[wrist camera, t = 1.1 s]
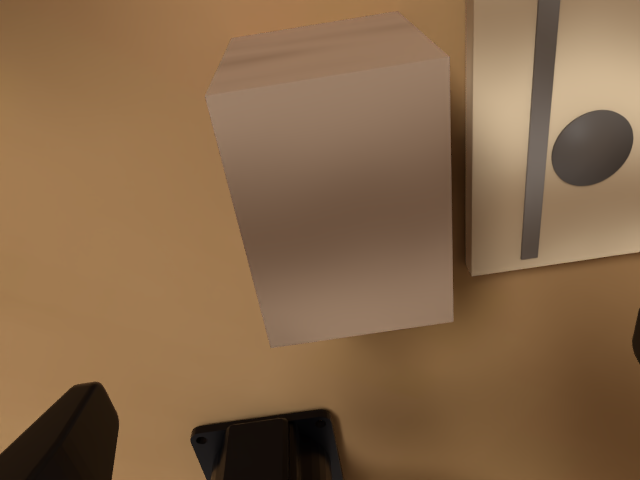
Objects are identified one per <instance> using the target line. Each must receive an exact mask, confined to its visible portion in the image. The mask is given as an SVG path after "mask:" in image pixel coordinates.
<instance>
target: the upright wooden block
mask: <svg viewBox="0 0 640 480" xmlns="http://www.w3.org/2000/svg"><path fill="white" fill-rule="evenodd" d="M205 98H206V102H207V106H208V110H209V114H210V118H211V121H212V125H213V129H214V133H215V137H216V140H217V144H218V148H219V152H220V156H221V160H222V163H223V167H224V171H225V175H226V179H227V183H228V186H229V190H230V194H231V198H232V202H233V206H234V209H235V213H236V217H237V221H238V225H239V229H240V232H241V236H242V240H243V244H244V248H245V251H246V255H247V259H248V263H249V267H250V271H251V274H252V278H253V282H254V286H255V290H256V294H257V297H258V301H259V305H260V309H261V313H262V317H263V320H264V324H265V328H266V332H267V336H268V340H269V343H270V347H271V348H274V347H281V346H288V345H295V344H302V343H309V342H316V341H323V340H330V339H337V338H344V337H351V336H358V335H365V334H372V333H379V332H386V331H393V330H400V329H407V328H413V327H420V326H427V325H434V324H441V323H448V322H453V256H452V188H451V120H450V57H449V56H448V55H447V54H446V53H445V52H444V51H443V50H441V49H440V48H439V47H438V46H437V45H436V44H435V43H433V42H432V41H431V40H430V39H429V38H428V37H427V36H425V35H424V34H423V33H422V32H421V31H420V30H419V29H418V28H416V27H415V26H414V25H413V24H412V23H411V22H410V21H408V20H407V19H406V18H405V17H404V16H403V15H402V14H400V13H399V12H398V11H395V12H389V13H383V14H377V15H371V16H365V17H359V18H352V19H346V20H340V21H334V22H328V23H322V24H316V25H309V26H303V27H297V28H291V29H285V30H279V31H273V32H267V33H260V34H254V35H248V36H242V37H236V38H231V40H230V42H229V45H228V47H227V49H226V51H225V53H224V55H223V58H222V60H221V62H220V64H219V66H218V68H217V71H216V73H215V75H214V77H213V79H212V81H211V84H210V86H209V88H208V90H207V92H206V94H205Z"/></svg>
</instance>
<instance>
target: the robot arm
mask: <svg viewBox="0 0 640 480" xmlns="http://www.w3.org/2000/svg"><path fill="white" fill-rule="evenodd" d="M632 346H633V351H634V354H635V356H636V358H637V360H638V362H639V364H640V308H639V311H638V316H637V321H636V325H635V330H634V334H633V339H632ZM319 420H322V421H319ZM118 430H119V419H118V415H117V412H116V410H115V408H114V406H113V404H112V402H111V400H110V398H109V396H108V394H107V392H106V390H105V388H104V387H103V385H102V384H101V383H99V382H90V383H83V384H77V385H74V386H73V387H72V388H70V389H69V390H68V391H67V392H66V393H65V394H64V395H63V396H62V397H61V398H60V399H58V400H57V401H56V402H55V403H54V404H53V405H52V406H51V407H50V408H49V409H48V410H47V411H46V412H45V413H44V414H42V415H41V416H40V417H39V418H38V419H37V420H36V421H35V422H34V423H33V424H32V425H31V426H30V427H29V428H28V429H27V430H25V431H24V432H23V433H22V434H21V435H20V436H19V437H18V438H17V439H16V440H15V441H14V442H13V443H12V444H11V445H10V446H8V447H7V448H6V449H5V450H4V451H3V452H2V453H1V454H0V480H112V472H113V465H114V458H115V451H116V444H117V437H118ZM190 440H191V444H192V446H193V448H194V451H195V453H196V456H197V458H198V460H199V463H200V465H201V467H202V470H203V472H204V475H205V477H206V479H207V480H344V479H343V474H342V469H341V464H340V459H339V454H338V449H337V444H336V439H335V434H334V429H333V424H332V419H331V415H330V413H329V412H328V411H326V410H313V411H305V412H298V413H291V414H284V415H277V416H269V417H262V418H255V419H248V420H241V421H234V422H226V423H219V424H212V425H205V426H199V427H196V428H194V429H193V431H192V434H191V439H190Z"/></svg>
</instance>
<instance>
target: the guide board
mask: <svg viewBox="0 0 640 480" xmlns="http://www.w3.org/2000/svg"><path fill="white" fill-rule="evenodd" d="M636 252H640V0H466V245H465V264H466V266H467V268H468V270H469V272H470V274H471V276H478V275H485V274H492V273H499V272H505V271H512V270H519V269H526V268H533V267H540V266H547V265H553V264H560V263H567V262H574V261H581V260H588V259H595V258H601V257H608V256H615V255H622V254H629V253H636Z"/></svg>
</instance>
